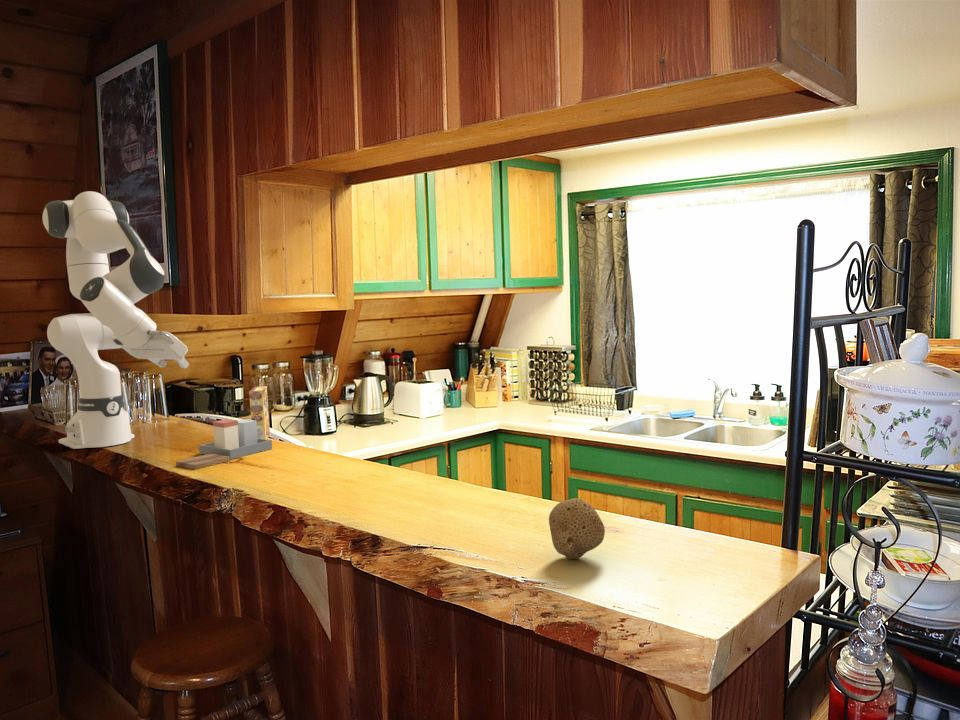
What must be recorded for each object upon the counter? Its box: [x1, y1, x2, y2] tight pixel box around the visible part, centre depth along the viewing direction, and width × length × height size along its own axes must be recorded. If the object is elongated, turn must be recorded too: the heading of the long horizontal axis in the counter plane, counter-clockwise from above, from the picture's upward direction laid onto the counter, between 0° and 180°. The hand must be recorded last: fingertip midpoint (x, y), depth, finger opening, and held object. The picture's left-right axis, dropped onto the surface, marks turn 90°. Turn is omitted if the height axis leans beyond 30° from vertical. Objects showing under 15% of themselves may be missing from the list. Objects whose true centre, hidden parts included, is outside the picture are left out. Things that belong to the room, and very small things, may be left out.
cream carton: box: [212, 418, 239, 449], centre depth 212 cm, size 5×5×9 cm
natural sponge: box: [548, 497, 606, 560], centre depth 126 cm, size 9×9×10 cm
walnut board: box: [175, 453, 231, 470], centre depth 201 cm, size 8×10×1 cm
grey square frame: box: [198, 438, 273, 460], centre depth 214 cm, size 13×14×2 cm
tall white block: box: [237, 419, 258, 447], centre depth 217 cm, size 4×4×8 cm
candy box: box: [248, 386, 271, 440], centre depth 231 cm, size 9×4×15 cm, turn 8°
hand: (175, 366), depth 203 cm, fingers open, 8 cm apart
